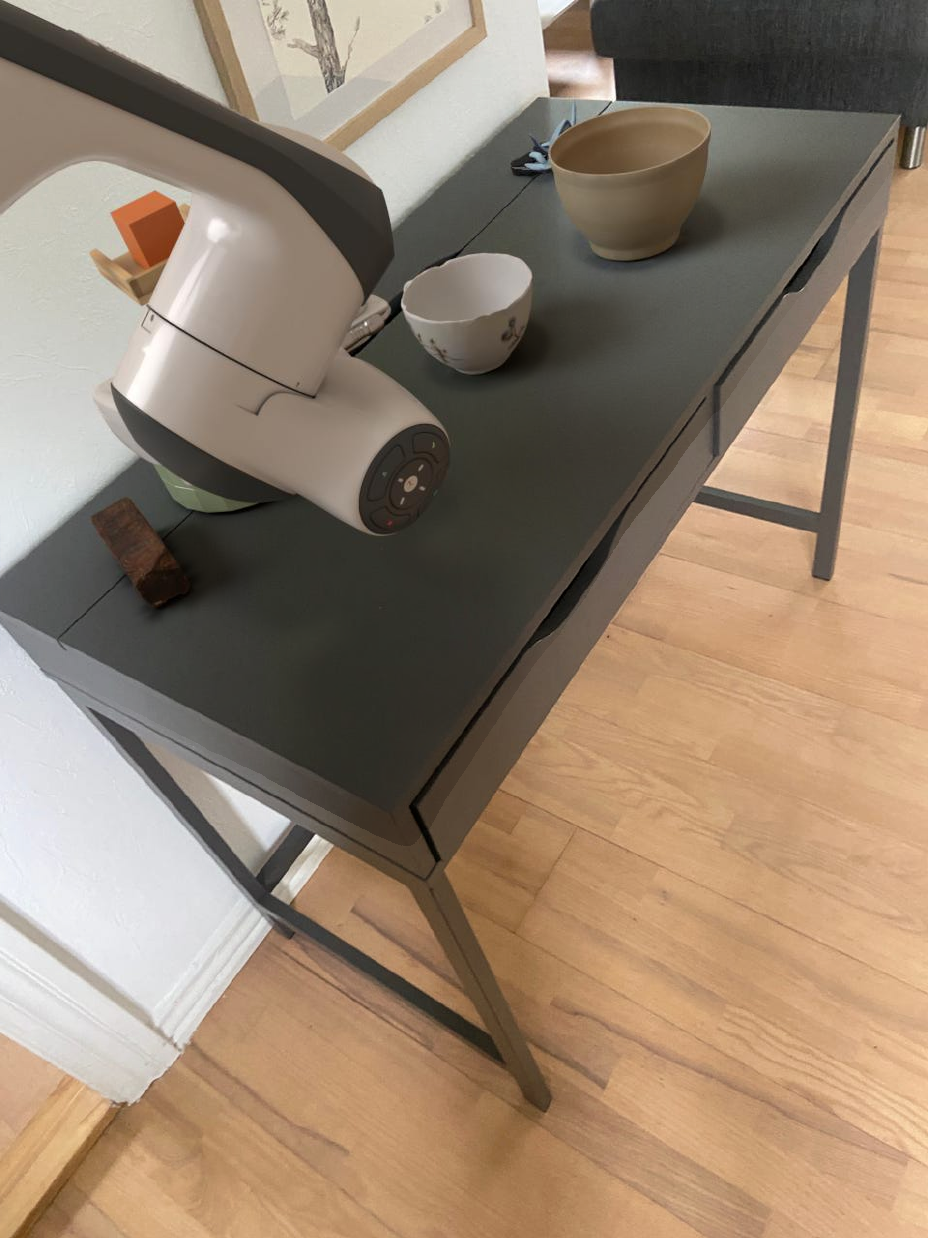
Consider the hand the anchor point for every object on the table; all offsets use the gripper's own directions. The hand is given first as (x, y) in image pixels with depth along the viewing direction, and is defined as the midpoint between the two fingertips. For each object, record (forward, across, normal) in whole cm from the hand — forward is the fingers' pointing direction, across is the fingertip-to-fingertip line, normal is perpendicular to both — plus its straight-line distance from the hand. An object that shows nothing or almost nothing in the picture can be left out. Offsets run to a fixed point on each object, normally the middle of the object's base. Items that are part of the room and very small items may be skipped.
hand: (194, 322), depth 70 cm
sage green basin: (+8, 0, +18) cm, 20 cm away
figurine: (+27, -58, +18) cm, 66 cm away
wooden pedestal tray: (-1, 0, +5) cm, 5 cm away
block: (-1, 0, -6) cm, 6 cm away
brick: (+1, +13, +18) cm, 22 cm away
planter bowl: (+5, -50, +18) cm, 53 cm away
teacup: (+3, -25, +18) cm, 31 cm away
